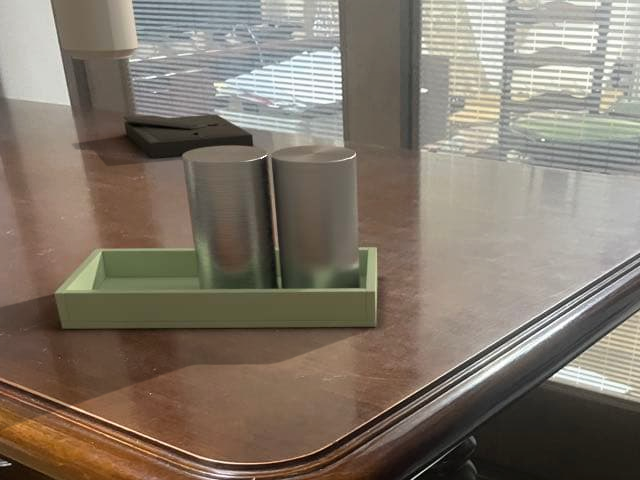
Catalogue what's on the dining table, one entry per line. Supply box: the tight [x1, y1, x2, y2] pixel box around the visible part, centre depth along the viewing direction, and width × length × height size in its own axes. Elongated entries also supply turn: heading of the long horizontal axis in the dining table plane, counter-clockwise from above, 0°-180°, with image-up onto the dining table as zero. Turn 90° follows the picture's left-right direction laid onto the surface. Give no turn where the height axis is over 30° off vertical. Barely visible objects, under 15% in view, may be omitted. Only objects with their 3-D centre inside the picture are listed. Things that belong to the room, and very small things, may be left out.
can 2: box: [181, 146, 279, 289], centre depth 76 cm, size 7×7×12 cm
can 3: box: [270, 144, 360, 289], centre depth 76 cm, size 7×7×12 cm
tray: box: [53, 246, 378, 330], centre depth 79 cm, size 27×13×3 cm, turn 91°
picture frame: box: [123, 114, 254, 159], centre depth 141 cm, size 16×3×21 cm
